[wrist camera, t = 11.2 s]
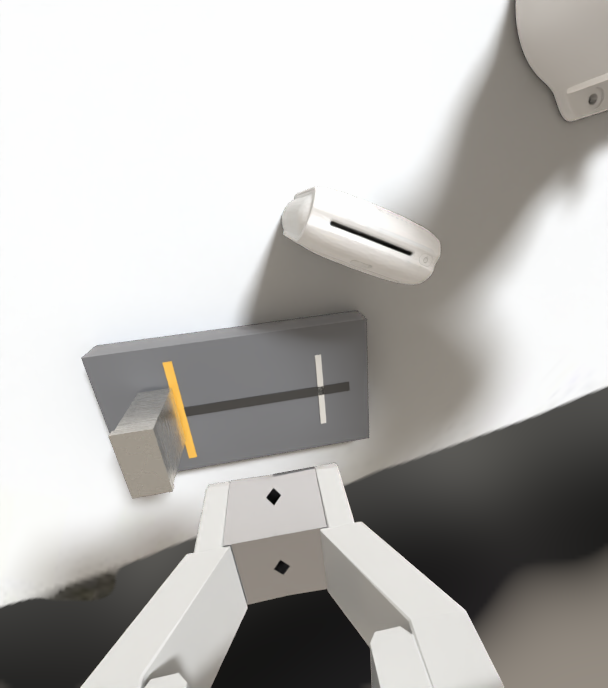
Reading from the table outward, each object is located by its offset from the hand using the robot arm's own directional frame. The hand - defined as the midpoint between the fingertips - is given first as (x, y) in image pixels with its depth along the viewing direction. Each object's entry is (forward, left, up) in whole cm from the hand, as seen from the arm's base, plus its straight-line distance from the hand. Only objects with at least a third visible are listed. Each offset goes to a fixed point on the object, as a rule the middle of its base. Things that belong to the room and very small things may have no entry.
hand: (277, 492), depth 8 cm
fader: (+11, +11, -23) cm, 28 cm away
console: (+3, +11, -26) cm, 29 cm away
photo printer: (-8, -4, -26) cm, 28 cm away
